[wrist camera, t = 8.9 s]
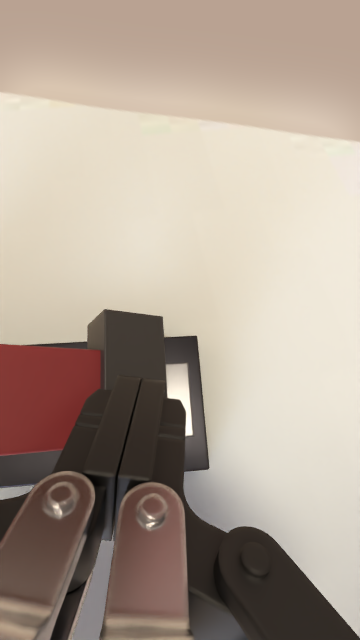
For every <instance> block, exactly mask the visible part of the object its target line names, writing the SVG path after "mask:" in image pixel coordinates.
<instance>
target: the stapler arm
mask: <svg viewBox="0 0 360 640" xmlns="http://www.w3.org/2000/svg"><path fill="white" fill-rule="evenodd" d="M118 375H126V376H133V377H140V378H142V379H143V378H148V379H156V380H163V381H166V382H165V389H164V396H163V397H164V398H168V396H167V379H166V363H165V346H164V330H163V317H161V316H153V315H146V314H138V313H130V312H122V311H114V310H107V309H105V310H103V311H102V312H101V313H100V314H99V315H98V316H97V317H96V318H95V319H94V320H93V321H92V322H91V323H90V324H89V325H88V338H87V349H73V348H57V347H41V346H24V345H8V344H0V456H5V455H16V454H26V453H36V452H47V451H57V450H63V448H64V446H65V444H66V442H67V439H68V437H69V435H70V433H71V431H72V429H73V427H74V426H75V422H76V420H77V418H78V416H79V415H80V412H81V409H82V407H83V405H84V403H85V401H86V399H87V398H88V397H89V396H90V395H92V394H93V393H94V392H95V391H96V390H97V389H105V390H112V389H113V387H114V384H115V381H116V379H117V376H118Z"/></svg>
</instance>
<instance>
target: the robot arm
mask: <svg viewBox="0 0 360 640" xmlns="http://www.w3.org/2000/svg"><path fill="white" fill-rule="evenodd" d="M165 382H166V381H163V380H156V379H148V378H143V379H142V378H140V377H133V376H126V375H118V376H117V379H116V381H115V384H114V387H113V389H112V390H105V389H97V390H96V391H95V392H94V393H93V394H92V395H90V396H89V397H88V398H87V399H86V401H85V403H84V405H83V407H82V409H81V412H80V415H79V416H78V418H77V420H76V422H75V426H74V427H73V429H72V431H71V433H70V435H69V437H68V439H67V442H66V444H65V446H64V448H63V450H62V452H61V455H60V457H59V459H58V461H57V463H56V465H55V467H54V470H53V471H52V473H51V475H49V476H47V477H45V478H44V479H42V480H41V481H40V482H38V483H37V484H36V485H35V486H34V487H33V489H32V490H31V491H30V492H29V493H27V494H24V495H22V496H19V497H15V498H10V499H4V500H0V640H72V637H73V634H74V631H75V628H76V625H77V621H78V618H79V615H80V612H81V609H82V606H83V603H84V600H85V597H86V594H87V590H88V587H89V584H90V581H91V578H92V574H93V568H94V566H95V562H96V558H97V554H98V551H99V547H100V543H101V540H109V541H111V539H112V535H113V530H114V540H113V541H115V543H114V550H113V557H112V564H111V571H110V578H109V585H108V592H107V599H106V606H105V613H104V619H103V625H102V630H101V633H100V638H99V640H360V638H359V637H358V636H357V634H356V633H355V632H354V631H353V630H352V629H351V627H350V626H349V625H348V624H347V623H346V622H345V620H344V619H343V618H342V617H341V616H340V615H339V614H338V612H337V611H336V610H335V609H334V608H333V607H332V605H331V604H330V603H329V602H328V601H327V600H326V599H325V597H324V596H323V595H322V594H321V593H320V592H319V590H318V589H317V588H316V587H315V586H314V585H313V583H312V582H311V581H310V580H309V579H308V578H307V577H306V575H305V574H304V573H303V572H302V571H301V570H300V568H299V567H298V566H297V565H296V564H295V563H294V562H293V560H292V559H291V558H290V557H289V556H288V555H287V553H286V552H285V551H284V550H283V549H282V548H281V546H280V545H279V544H278V543H277V542H276V541H275V540H274V539H273V538H272V537H271V536H269V535H268V534H267V533H265V532H263V531H261V530H259V529H257V528H253V527H246V526H244V527H238V528H235V529H233V530H231V531H230V532H228V533H226V532H224V531H222V530H220V529H218V528H216V527H214V526H212V525H210V524H208V523H206V522H204V521H203V520H201V519H200V518H199V517H198V516H197V515H196V514H195V513H194V512H193V511H192V510H191V509H190V507H189V505H188V504H187V502H186V499H185V496H184V492H183V480H184V457H185V434H186V410H185V408H184V406H183V404H182V402H181V400H179V399H172V398H164V397H163V396H164V389H165Z"/></svg>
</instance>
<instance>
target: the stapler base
mask: <svg viewBox="0 0 360 640" xmlns="http://www.w3.org/2000/svg"><path fill="white" fill-rule="evenodd" d="M24 346H41V347H57V348H73V349H87V342H73V343H54V344H36V345H24ZM164 346H165V363H166V379H167V396H168V398H172V399H179V400H181V402H182V404H183V406H184V408H185V410H186V434H185V457H184V472H186V471H198V470H208V469H209V459H208V448H207V437H206V427H205V416H204V405H203V395H202V384H201V373H200V362H199V352H198V341H197V336H183V337H164ZM61 452H62V450H57V451H47V452H36V453H26V454H16V455H5V456H0V488H5V487H17V486H28V485H36V484H37V483H38V482H40V481H41V480H42V479H44V478H45V477H47V476H49V475H51V473H52V471H53V470H54V467H55V465H56V463H57V461H58V459H59V457H60V455H61Z"/></svg>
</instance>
